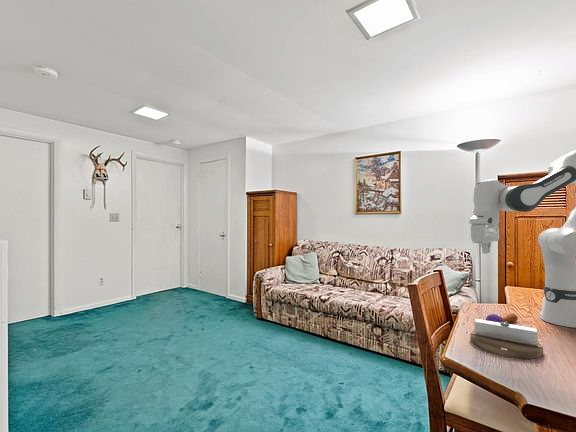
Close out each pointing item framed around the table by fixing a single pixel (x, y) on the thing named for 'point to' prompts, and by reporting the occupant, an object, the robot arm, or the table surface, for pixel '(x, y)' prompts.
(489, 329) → the bar
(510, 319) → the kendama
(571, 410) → the table surface
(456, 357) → the table surface
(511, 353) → the lock plate
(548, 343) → the table surface
